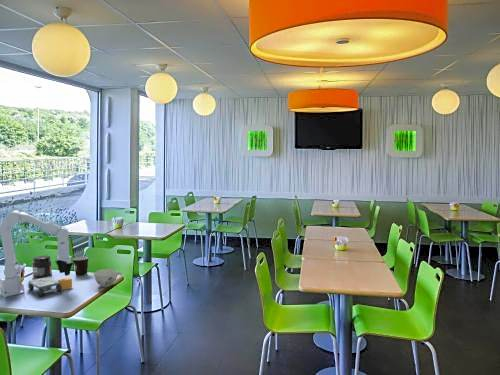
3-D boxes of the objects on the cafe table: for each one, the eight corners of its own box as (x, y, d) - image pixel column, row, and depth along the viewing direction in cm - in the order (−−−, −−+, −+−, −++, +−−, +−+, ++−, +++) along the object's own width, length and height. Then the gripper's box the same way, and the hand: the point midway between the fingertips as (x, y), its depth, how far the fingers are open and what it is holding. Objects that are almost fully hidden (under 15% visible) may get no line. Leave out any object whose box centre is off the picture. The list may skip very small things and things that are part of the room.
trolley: (40, 298, 220) (40, 287, 220) (27, 289, 235) (27, 279, 234) (62, 293, 228) (61, 283, 228) (48, 285, 242) (48, 275, 242)
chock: (72, 287, 238) (71, 278, 237) (61, 290, 233) (60, 281, 233) (69, 286, 240) (68, 277, 240) (58, 288, 236) (57, 279, 236)
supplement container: (53, 273, 266) (52, 254, 265) (50, 278, 256) (49, 258, 255) (35, 275, 264) (34, 255, 263) (31, 279, 253) (30, 259, 252)
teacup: (95, 290, 232) (94, 276, 231) (93, 284, 243) (92, 270, 242) (124, 286, 238) (123, 272, 238) (120, 280, 249) (120, 267, 249)
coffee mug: (73, 273, 266) (73, 257, 265) (88, 271, 269) (87, 256, 269) (74, 278, 255) (73, 261, 254) (89, 276, 259) (88, 260, 258)
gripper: (76, 250, 233) (77, 275, 234) (65, 246, 243) (66, 270, 244) (62, 252, 228) (64, 277, 229) (52, 248, 238) (54, 272, 239)
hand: (64, 274), depth 236 cm, fingers open, 7 cm apart
